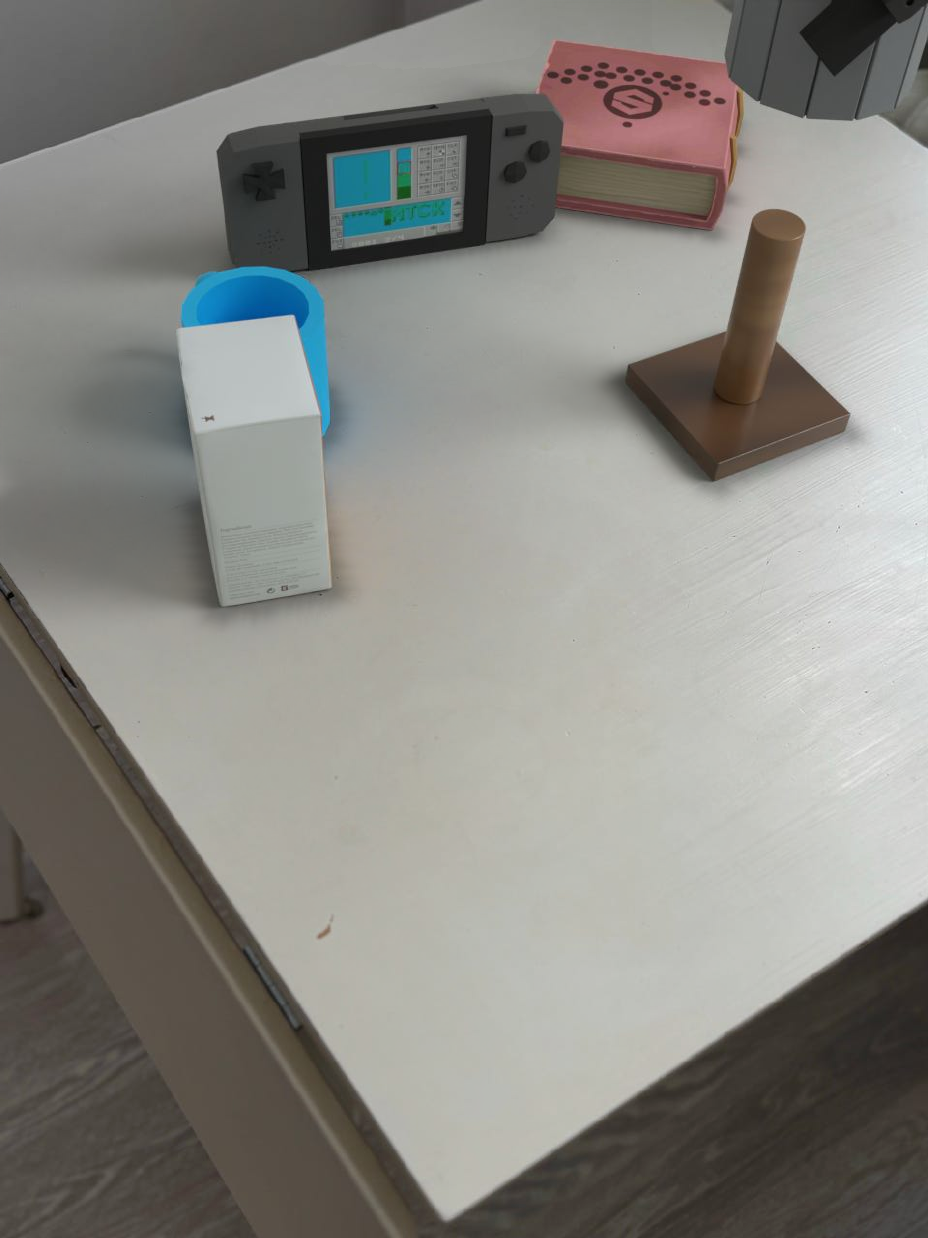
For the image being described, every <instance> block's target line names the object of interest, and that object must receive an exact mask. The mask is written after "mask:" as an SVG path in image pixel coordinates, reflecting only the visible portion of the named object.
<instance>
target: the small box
mask: <svg viewBox="0 0 928 1238" xmlns="http://www.w3.org/2000/svg"><path fill="white" fill-rule="evenodd" d="M175 342H176V348H177V355H178V361H179V362H178V363H179V368H180V373H181V380H182V387H183V394H184V400H185V401H184V402H185V406H186V413H187V419H188V428H189V434H190V441H191V446H192V453H193V459H194V465H195V471H196V472H195V473H196V478H197V483H198V484H197V485H198V490H199V491H198V492H199V498H200V504H201V510H202V516H203V522H204V530H205V534H206V541H207V546H208V551H209V557H210V562H211V567H212V568H211V569H212V572H213V577H214V582H215V588H216V594H217V597H218V601H219V604H220V607H229V606H237V605H242V604H249V603H255V602H260V601H261V602H262V601H267V600H272V599H273V600H274V599H279V598H285V597H289V596H297V595H303V594H307V593H313V592H319V591H325V590H329V589H332V588H333V578H332V577H333V576H332V561H331V547H330V535H329V519H328V504H327V486H326V484H327V483H326V471H325V457H324V455H325V454H324V439H323V438H324V436H323V437H322V416H321V410H320V406H319V402H318V398H317V394H316V391H315V387H314V383H313V380H312V376H311V372H310V369H309V365H308V361H307V357H306V354H305V350H304V347H303V343H302V340H301V336H300V332H299V329H298V325H297V322H296V318H295V316H294V315H286V316H278V317H269V318H262V319H253V320H244V321H236V322H227V323H219V324H211V325H202V326H194V327H185V328H182V327H178V328H176V330H175Z"/></svg>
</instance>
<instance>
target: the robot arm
mask: <svg viewBox="0 0 928 1238" xmlns="http://www.w3.org/2000/svg"><path fill="white" fill-rule="evenodd" d="M927 3H928V0H834V1H833V2H832V3H831V4H830V5H829V6H827V7H826V8H825V9H824V10H823V11H822V12H821V13H820V14H819V15H817V16H816V17H815V18H814V19H813V20H812V21H811V22H810V23H809V24H808V25H806V26H805V27H804V28H803V29H802V30H801V31H800V32H799V33H800V34H801V36H802V37H803V38H804V40H805V41H806V42H807V44H808V45H809V46H810V47H811V49H812V50H813V51H814V52H815V54H816V55H817V56H818V57H819V59H820V60H821V61H822V62H823V63H824V65H825V66H826V67H827V68H828V70H829V71H830V72H831V73H832V75H833V76H834V77H835V76H836V75H837V74H838V73H839V72H841V71H842V70H843V69H844V68H845V67H846V66H847V65H849V64H850V63H851V62H852V61H853V60H854V59H855V58H857V57H858V56H859V55H860V54H861V53H862V52H863V51H864V50H866V49H867V48H868V47H869V46H870V45H871V44H872V43H874V42H875V41H876V40H877V39H878V38H879V37H880V36H882V35H883V34H884V33H885V32H886V31H887V30H888V29H890V28H891V27H892V26H893V25H894V24H895V23H896V22H898V23H899V24H900V23H902V22H904V21H906V20H908V19H910V18H911V17H912V16H913V15H915V14H916V13H917V12H918V11H919V10H920V9H921V7H924V6H925V5H926V4H927Z"/></svg>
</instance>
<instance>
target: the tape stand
mask: <svg viewBox="0 0 928 1238" xmlns="http://www.w3.org/2000/svg"><path fill="white" fill-rule="evenodd" d="M806 231H807V227H806V223H805V221H804V220H803V219H802V217H800V216H799V215H797V214H795V213H794V212H791V211H788V210H785V209H781V208H768V209H764V210H760V211H758V212H757V213H756V214H755V215H754V216H753V217H752V219H751V222H750V227H749V231H748V235H747V239H746V243H745V247H744V253H743V257H742V262H741V266H740V270H739V274H738V278H737V284H736V288H735V292H734V296H733V299H732V305H731V310H730V312H729V318H728V322H727V326H726V329H725V331H722V332H720V333H719V332H718V333H717V334H714V335H711V336H708V337H705V338H702V339H699V340H695V341H693V342H690V343H687V344H685V345H681V346H678V347H676V348H673V349H669V350H667V351H664V352H661V353H658V354H655V355H653V356H649V357H646V358H643V359H640V360H637V361H634V362H632V363H629V364H628V365H627V368H626V372H625V373H626V375H625V378H624V379H625V381H624V383H625V384H626V386H628V387H629V389H630V390H631V391H632V392H633V393H634V394H635V395H636V397H637V398H638V399H639V401H641V402H642V403H643V404H644V405H645V406H646V408H647V409H648V410H649V411H650V412H651V413H652V414H653V416H655V418H656V419H657V420H658V421H659V422H660V423H661V424H662V425H663V427H664V428H665V429H666V430H667V431H668V432H669V434H671V435H672V437H673V438H674V439H675V440H676V441H677V442H678V443H679V445H680V446H682V448H683V449H684V450H685V451H686V452H687V454H689V456H690V457H691V458H692V459H693V460H694V461H695V463H696V464H697V465H698V466H699V467H700V468H701V469H702V471H704V472H705V473H706V475H707V476H708V477H709V478H710V479H711V480H712V481H713V482H716V481H719V480H722V479H724V478H726V477H729V476H732V475H735V474H737V473H739V472H743V471H745V470H748V469H750V468H753V467H755V466H759V465H761V464H763V463H766V462H769V461H771V460H774V459H777V458H778V457H781V456H784V455H787V454H789V453H792V452H795V451H797V450H800V449H802V448H805V447H807V446H810V445H813V444H815V443H818V442H821V441H823V440H825V439H830V438H831V437H833V436H836V435H840V434H842V433H845V431H846V429H847V426H848V424H849V420H850V418H851V412H849V410H848V409H846V408H845V406H844V405H843V404H841V403H840V402H839V401H838V400H837V399H836V398H835V397H834V396H833V395H832V394H831V393H830V392H829V391H828V390H827V389H826V388H825V387H824V386H823V385H822V384H821V383H820V382H819V381H818V380H817V379H816V378H814V377H813V376H812V375H811V373H810V372H808V371H807V370H806V368H805V367H803V365H801V363H799V362H798V360H796V359H795V358H794V357H793V355H791V354H790V352H788V351H787V350H786V349H785V348H784V347H783V346H782V345H781V344H779V342H778V341H777V339H778V335H779V331H780V327H781V324H782V320H783V317H784V313H785V309H786V305H787V302H788V298H789V294H790V291H791V286H792V283H793V279H794V276H795V272H796V268H797V264H798V261H799V256H800V253H801V249H802V245H803V242H804V238H805V234H806Z"/></svg>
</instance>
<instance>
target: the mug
mask: <svg viewBox="0 0 928 1238" xmlns="http://www.w3.org/2000/svg"><path fill="white" fill-rule="evenodd" d="M286 315H294V316H295V318H296V322H297V325H298V329H299V332H300V336H301V340H302V343H303V347H304V350H305V354H306V357H307V361H308V365H309V369H310V372H311V376H312V380H313V383H314V387H315V391H316V394H317V398H318V402H319V406H320V410H321V416H322V437H323V438H324V436H325V435H326V433H327V430H328V428H329V426H330V424H331V403H330V387H329V386H330V385H329V371H328V370H329V368H328V353H327V337H326V335H327V334H326V321H325V320H326V319H325V303H324V299H323V297H322V296H321V294H320V292H319V290H318V289H317V287H316V286H315V285H313V284H312V283H311V282H309V281H308V280H307V279H306V278H304V277H303V276H301V275H298V274H296V273H294V272H292V271H286V270H282V269H276V268H271V267H265V266H262V267H240V268H237V267H236V268H232V269H227V270H223V271H220V272H219V271H217V270H211V271H208V272H207V271H206V272H204V273H202V274H200V275H199V276H198V277H197V279H196V282H195V284H194V288H192V289H191V290H190V291H189V292H188V294H187V295H186V297H185V299H184V301H183V302H182V304H181V312H180V322H181V328H185V327H194V326H202V325H211V324H219V323H227V322H236V321H244V320H253V319H262V318H269V317H278V316H286Z"/></svg>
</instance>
